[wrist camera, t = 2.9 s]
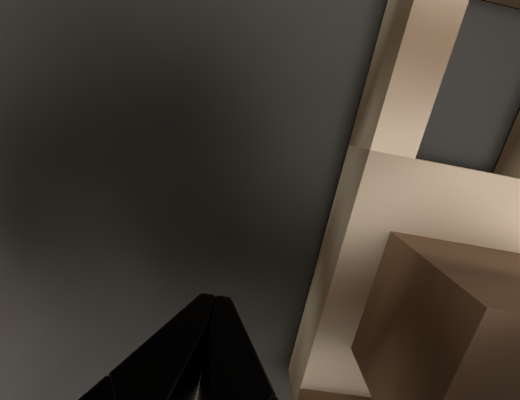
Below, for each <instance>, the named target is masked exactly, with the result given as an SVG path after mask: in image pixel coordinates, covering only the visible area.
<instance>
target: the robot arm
mask: <svg viewBox="0 0 520 400" xmlns="http://www.w3.org/2000/svg"><path fill="white" fill-rule="evenodd" d="M201 372H202V373H201ZM200 377H201V379H200ZM199 381H200V386H199V394H198V400H278V398H277V397H275V396H276V394H275V392H274V390H273V388H272V385H271V383H270V381H269V379H268V377H267V375H266V373H265V370H264V368H263V366H262V364H261V362H260V360H259V358H258V355H257V353H256V351H255V349H254V347H253V345H252V343H251V340H250V338H249V336H248V334H247V332H246V330H245V328H244V325H243V323H242V321H241V319H240V317H239V315H238V313H237V310H236V308H235V306H234V304H233V302H232V300H231V298H230V297H225V296H216V298H215V296H214V295H211V294H204V293H202V294H200V295H199V296H197V297H196V298H195V299H194V300H193V301H192V302H191V303H189V304H188V305H187V306H186V307H185V308H184V309H182V310H181V311H180V312H179V313H178V314H177V315H176V316H174V317H173V318H172V319H171V320H170V321H169V322H168V323H166V324H165V325H164V326H163V327H162V328H161V329H159V330H158V331H157V332H156V333H155V334H154V335H153V336H151V337H150V338H149V339H148V340H147V341H146V342H145V343H143V344H142V345H141V346H140V347H139V348H138V349H136V350H135V351H134V352H133V353H132V354H131V355H130V356H128V357H127V358H126V359H125V360H124V361H123V362H122V363H120V364H119V365H118V366H117V367H116V368H115V369H113V370H112V371H111V372H110V373H109V375H108V376H105V377H104V378H103V379H102V380H101V381H99V382H98V383H97V384H96V385H95V386H94V387H92V388H91V389H90V390H89V391H88V392H87V393H85V394H84V395H83V396H82V397H81V398H79V399H78V400H194V398H195V395H196V392H197V388H198V385H199Z"/></svg>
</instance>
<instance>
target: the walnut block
mask: <svg viewBox="0 0 520 400" xmlns="http://www.w3.org/2000/svg"><path fill="white" fill-rule="evenodd" d="M351 350H352V352H353V355H354V357H355V359H356V362H357V364H358V367H359V369H360V371H361V374H362V376H363V378H364V381H365V383H366V385H367V388H368V390H369V392H370V395H371V397H372V399H373V400H520V253H515V252H509V251H504V250H498V249H492V248H486V247H480V246H475V245H469V244H463V243H457V242H451V241H446V240H440V239H434V238H428V237H422V236H417V235H411V234H405V233H399V232H393V231H390V234H389V237H388V240H387V243H386V246H385V249H384V252H383V255H382V258H381V261H380V264H379V267H378V270H377V273H376V275H375V278H374V281H373V284H372V287H371V290H370V293H369V296H368V299H367V302H366V305H365V308H364V311H363V314H362V317H361V320H360V323H359V325H358V328H357V331H356V334H355V337H354V340H353V343H352V346H351Z"/></svg>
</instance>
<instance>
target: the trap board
mask: <svg viewBox="0 0 520 400" xmlns="http://www.w3.org/2000/svg"><path fill="white" fill-rule="evenodd" d="M485 1H489V2H494V3H498V4H502V5H506V6H510V7H515V8H519V9H520V0H485ZM468 2H469V0H388V2H387V5H386V9H385V13H384V16H383V20H382V24H381V27H380V31H379V35H378V39H377V42H376V46H375V50H374V53H373V57H372V61H371V64H370V68H369V72H368V75H367V79H366V83H365V87H364V90H363V94H362V98H361V101H360V105H359V109H358V112H357V116H356V120H355V124H354V127H353V131H352V135H351V138H350V142H349V146H348V149H347V153H346V157H345V161H344V164H343V168H342V172H341V175H340V179H339V183H338V186H337V190H336V194H335V198H334V201H333V205H332V209H331V212H330V216H329V220H328V223H327V227H326V231H325V235H324V238H323V242H322V246H321V249H320V253H319V257H318V260H317V264H316V268H315V272H314V275H313V279H312V283H311V286H310V290H309V294H308V297H307V301H306V305H305V309H304V312H303V316H302V320H301V323H300V327H299V331H298V334H297V338H296V342H295V345H294V349H293V353H292V357H291V360H290V364H289V368H288V371H289V378H290V385H291V393H292V400H373V399H372V397H371V395H370V392H369V390H368V388H367V385H366V383H365V381H364V378H363V376H362V374H361V371H360V369H359V367H358V364H357V362H356V359H355V357H354V355H353V352H352V350H351V346H352V343H353V340H354V337H355V334H356V331H357V328H358V325H359V323H360V320H361V317H362V314H363V311H364V308H365V305H366V302H367V299H368V296H369V293H370V290H371V287H372V284H373V281H374V278H375V275H376V273H377V270H378V267H379V264H380V261H381V258H382V255H383V252H384V249H385V246H386V243H387V240H388V237H389V234H390V231H393V232H399V233H405V234H411V235H417V236H422V237H428V238H434V239H440V240H446V241H451V242H457V243H463V244H469V245H475V246H480V247H486V248H492V249H498V250H504V251H509V252H515V253H520V110H519V113H518V115H517V117H516V120H515V122H514V124H513V127H512V129H511V131H510V134H509V136H508V139H507V141H506V143H505V146H504V148H503V150H502V153H501V155H500V157H499V160H498V162H497V165H496V167H495V169H494V172H493V173H491V172H486V171H480V170H475V169H470V168H465V167H460V166H455V165H449V164H444V163H439V162H434V161H429V160H423V159H418V158H416V155H417V152H418V149H419V146H420V143H421V140H422V137H423V134H424V131H425V128H426V126H427V123H428V120H429V117H430V114H431V111H432V108H433V105H434V102H435V99H436V96H437V93H438V90H439V87H440V84H441V81H442V78H443V76H444V73H445V70H446V67H447V64H448V61H449V58H450V55H451V52H452V49H453V46H454V43H455V40H456V37H457V34H458V31H459V29H460V26H461V23H462V20H463V17H464V14H465V11H466V8H467V5H468Z"/></svg>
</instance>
